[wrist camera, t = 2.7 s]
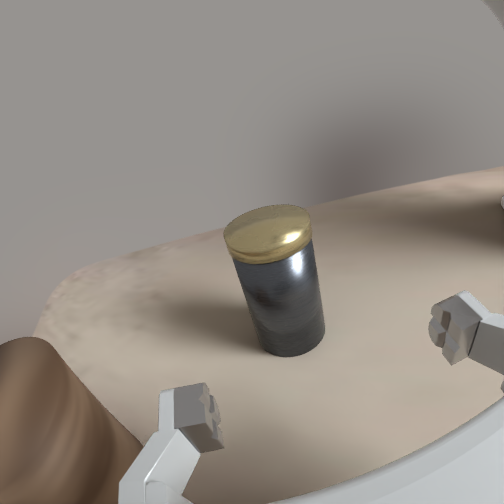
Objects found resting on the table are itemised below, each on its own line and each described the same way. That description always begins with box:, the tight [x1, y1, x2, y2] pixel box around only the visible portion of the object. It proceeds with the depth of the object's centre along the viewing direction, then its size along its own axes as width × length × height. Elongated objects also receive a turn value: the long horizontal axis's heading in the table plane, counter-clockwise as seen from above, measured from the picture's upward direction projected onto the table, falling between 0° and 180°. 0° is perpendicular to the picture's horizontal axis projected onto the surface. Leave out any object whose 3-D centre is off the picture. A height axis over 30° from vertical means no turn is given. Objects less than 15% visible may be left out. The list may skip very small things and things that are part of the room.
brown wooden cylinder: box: [0, 337, 143, 504], centre depth 13 cm, size 12×12×10 cm
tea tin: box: [224, 205, 325, 357], centre depth 23 cm, size 6×6×10 cm
